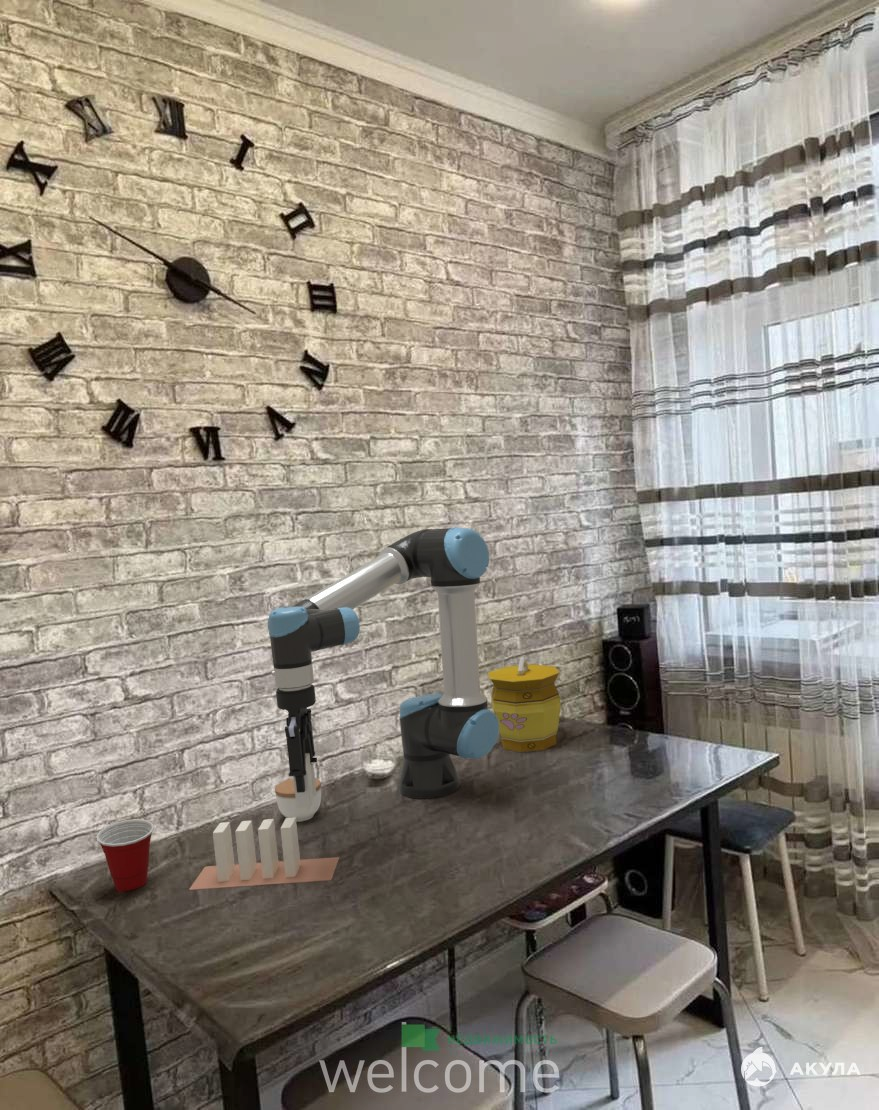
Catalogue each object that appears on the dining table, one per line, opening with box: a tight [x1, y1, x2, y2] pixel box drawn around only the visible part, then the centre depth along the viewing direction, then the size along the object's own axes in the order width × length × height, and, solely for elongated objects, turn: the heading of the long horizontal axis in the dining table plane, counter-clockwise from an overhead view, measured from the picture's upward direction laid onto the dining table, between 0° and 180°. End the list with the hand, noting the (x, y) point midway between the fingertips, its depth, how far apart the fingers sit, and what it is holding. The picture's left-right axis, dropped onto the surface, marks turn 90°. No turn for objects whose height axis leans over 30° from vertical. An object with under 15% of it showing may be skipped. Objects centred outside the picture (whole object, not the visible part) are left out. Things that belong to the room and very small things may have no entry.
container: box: [487, 656, 562, 753], centre depth 236 cm, size 21×21×25 cm
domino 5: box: [298, 753, 314, 812], centre depth 165 cm, size 2×5×10 cm, turn 178°
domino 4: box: [280, 817, 301, 877], centre depth 166 cm, size 2×5×10 cm, turn 178°
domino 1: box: [212, 821, 235, 882], centre depth 166 cm, size 2×5×10 cm, turn 178°
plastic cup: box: [95, 818, 155, 894], centre depth 166 cm, size 11×11×12 cm
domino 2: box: [234, 820, 257, 880], centre depth 166 cm, size 2×5×10 cm, turn 178°
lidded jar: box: [274, 777, 322, 823], centre depth 196 cm, size 11×11×9 cm
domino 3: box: [257, 818, 279, 879], centre depth 166 cm, size 2×5×10 cm, turn 178°
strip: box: [188, 856, 340, 891], centre depth 166 cm, size 28×10×1 cm, turn 88°
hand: (306, 800), depth 165 cm, fingers closed on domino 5, 5 cm apart
